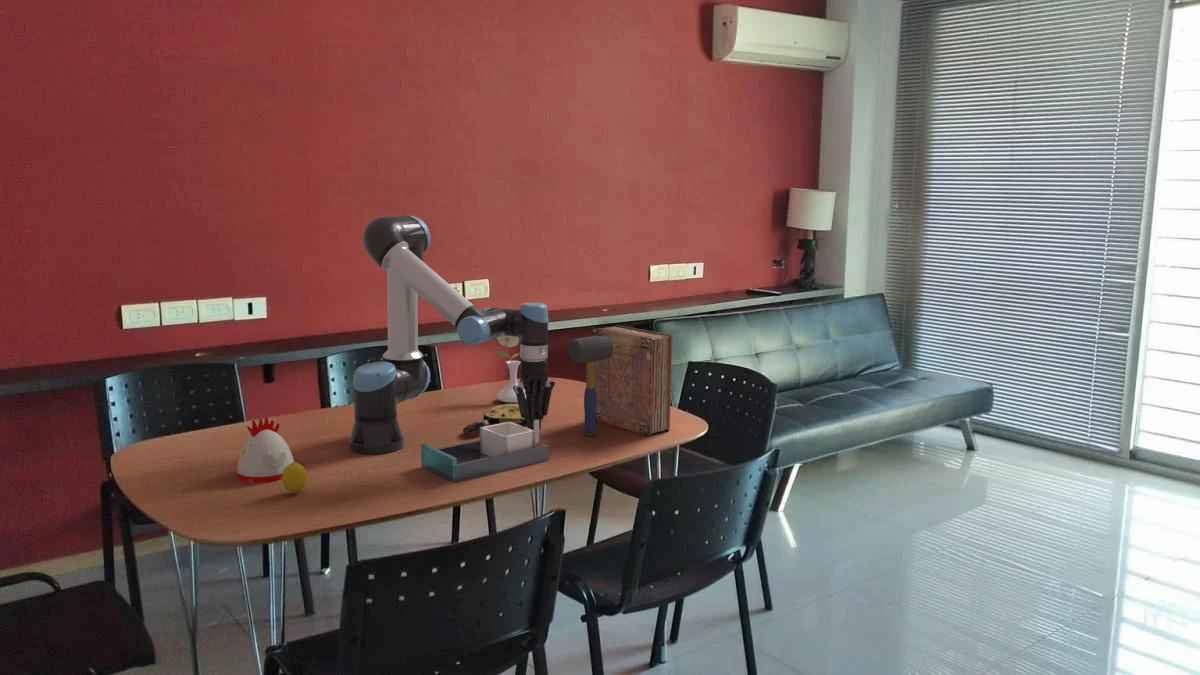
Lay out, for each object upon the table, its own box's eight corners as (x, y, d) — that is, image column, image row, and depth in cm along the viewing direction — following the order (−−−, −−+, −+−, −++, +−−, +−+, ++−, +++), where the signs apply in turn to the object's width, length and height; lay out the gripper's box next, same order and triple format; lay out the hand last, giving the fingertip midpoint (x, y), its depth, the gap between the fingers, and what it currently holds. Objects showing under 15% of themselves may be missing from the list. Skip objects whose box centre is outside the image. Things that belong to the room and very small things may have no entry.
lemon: (310, 489, 220) (308, 458, 219) (303, 497, 215) (301, 465, 214) (287, 489, 220) (285, 458, 219) (280, 497, 215) (278, 465, 213)
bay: (452, 482, 227) (452, 459, 226) (421, 466, 239) (421, 444, 238) (548, 460, 246) (548, 438, 245) (514, 446, 258) (514, 425, 257)
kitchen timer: (228, 473, 232) (225, 417, 229) (280, 462, 241) (277, 408, 239) (252, 487, 222) (248, 428, 219) (304, 474, 232) (301, 418, 229)
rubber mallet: (579, 441, 264) (580, 340, 258) (565, 435, 270) (566, 336, 264) (613, 435, 271) (615, 336, 265) (599, 429, 277) (601, 332, 271)
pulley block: (449, 412, 270) (517, 394, 293) (447, 430, 271) (515, 411, 295) (482, 427, 262) (549, 408, 285) (480, 446, 263) (547, 425, 287)
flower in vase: (536, 400, 311) (536, 329, 307) (516, 407, 302) (516, 333, 297) (506, 395, 318) (506, 325, 313) (486, 401, 308) (485, 329, 304)
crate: (504, 462, 239) (504, 437, 238) (480, 452, 248) (479, 427, 247) (535, 455, 245) (535, 430, 244) (510, 445, 254) (510, 421, 253)
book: (670, 431, 275) (673, 334, 270) (649, 437, 269) (652, 338, 264) (612, 415, 293) (613, 324, 288) (591, 420, 287) (592, 327, 282)
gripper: (522, 364, 241) (522, 449, 245) (561, 358, 249) (560, 440, 253) (506, 359, 247) (507, 442, 251) (544, 354, 255) (544, 434, 259)
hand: (534, 441), depth 252 cm, fingers closed
